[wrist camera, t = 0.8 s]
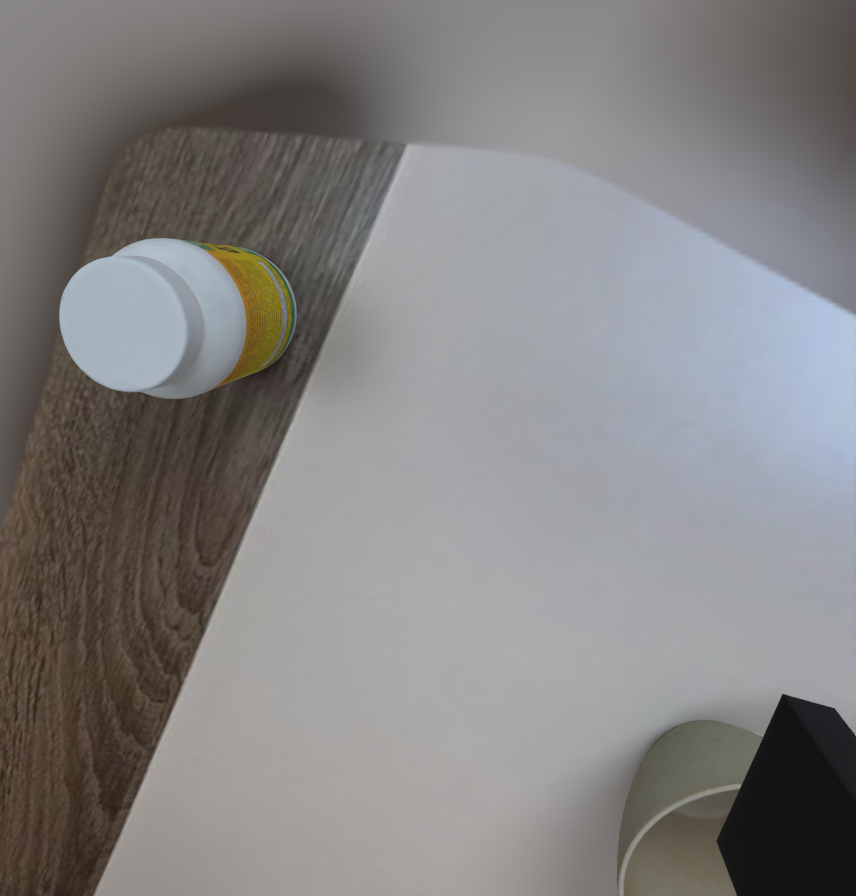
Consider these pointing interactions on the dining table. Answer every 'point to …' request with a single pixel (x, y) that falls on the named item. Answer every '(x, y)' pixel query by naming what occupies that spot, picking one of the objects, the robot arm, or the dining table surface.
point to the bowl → (683, 811)
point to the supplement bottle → (176, 317)
